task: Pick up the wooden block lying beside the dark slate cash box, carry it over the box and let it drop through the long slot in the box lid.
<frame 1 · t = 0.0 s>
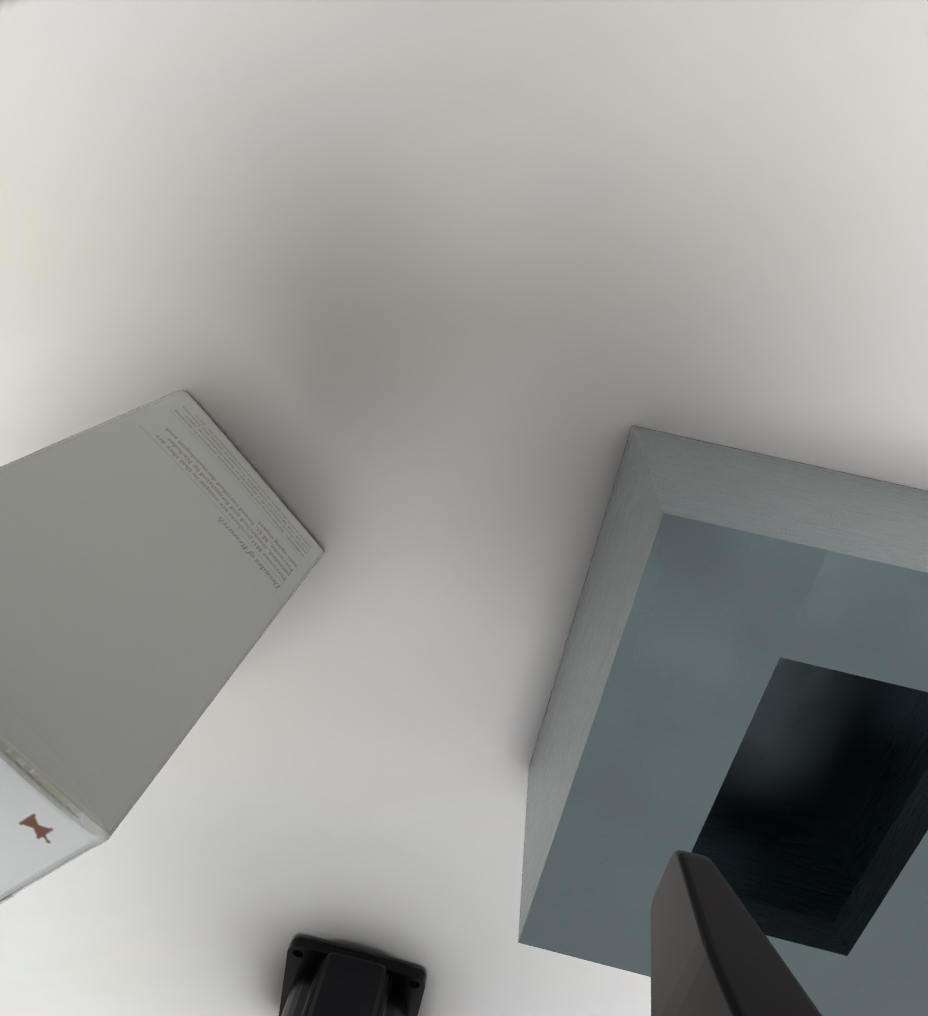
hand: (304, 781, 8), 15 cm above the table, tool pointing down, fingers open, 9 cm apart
cash box: (746, 657, 23), on the table
supplement box: (191, 523, 25), on the table
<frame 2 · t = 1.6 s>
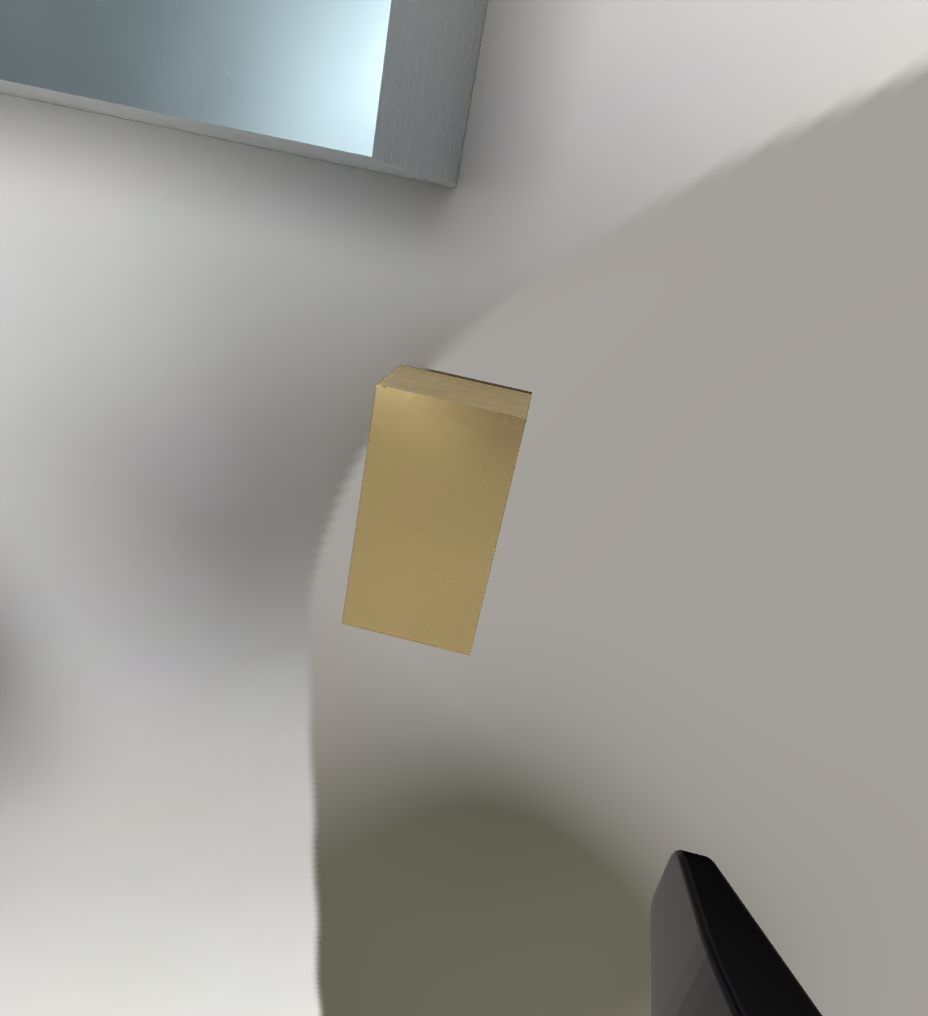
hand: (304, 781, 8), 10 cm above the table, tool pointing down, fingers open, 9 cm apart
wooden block: (444, 490, 18), on the table
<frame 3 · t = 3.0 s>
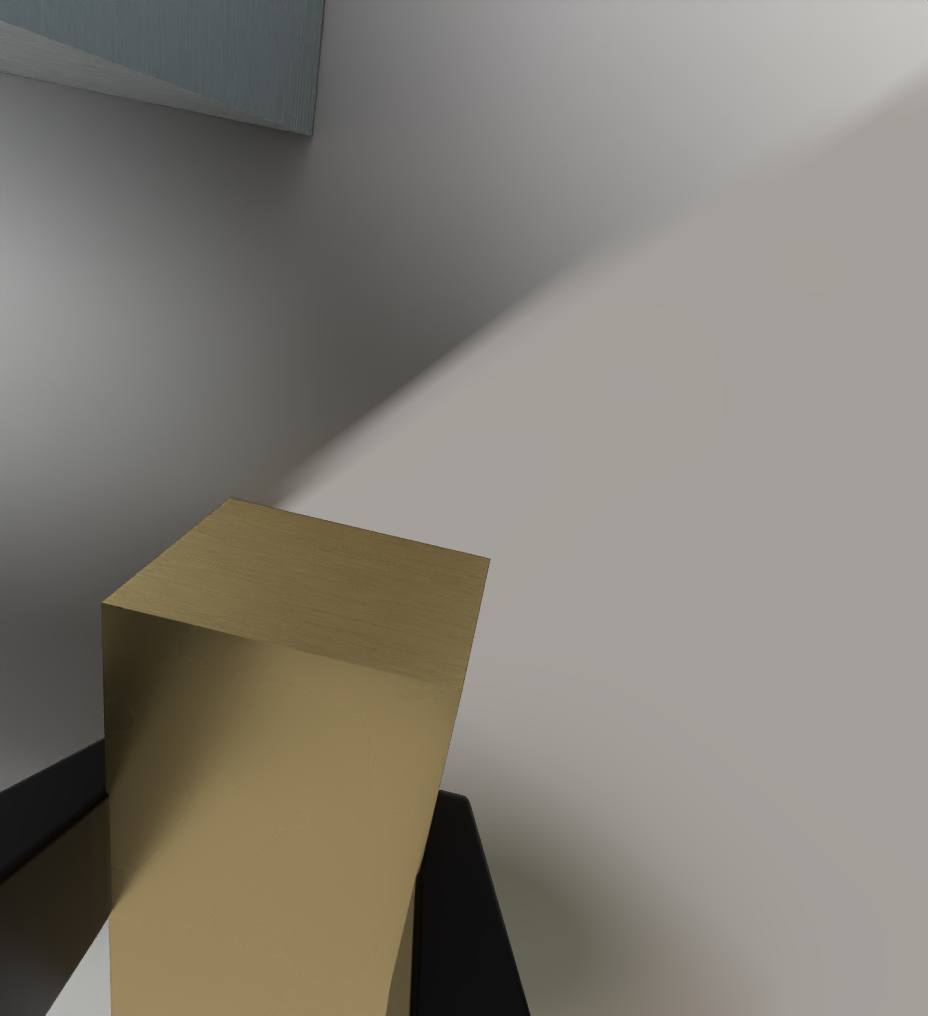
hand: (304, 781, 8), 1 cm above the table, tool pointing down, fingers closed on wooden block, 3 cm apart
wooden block: (330, 723, 9), on the table, touching gripper
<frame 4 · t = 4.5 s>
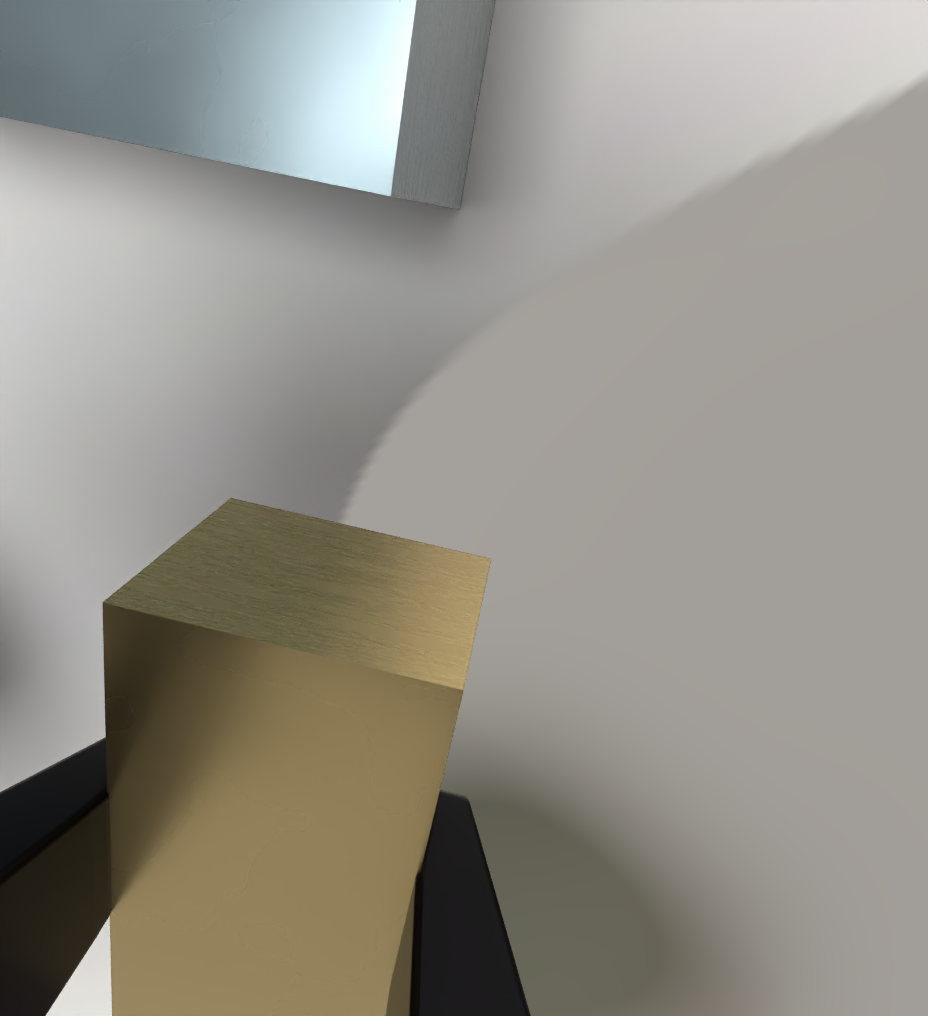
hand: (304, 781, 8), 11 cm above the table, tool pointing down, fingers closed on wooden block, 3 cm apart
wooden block: (331, 723, 9), point 10 cm above the table, touching gripper
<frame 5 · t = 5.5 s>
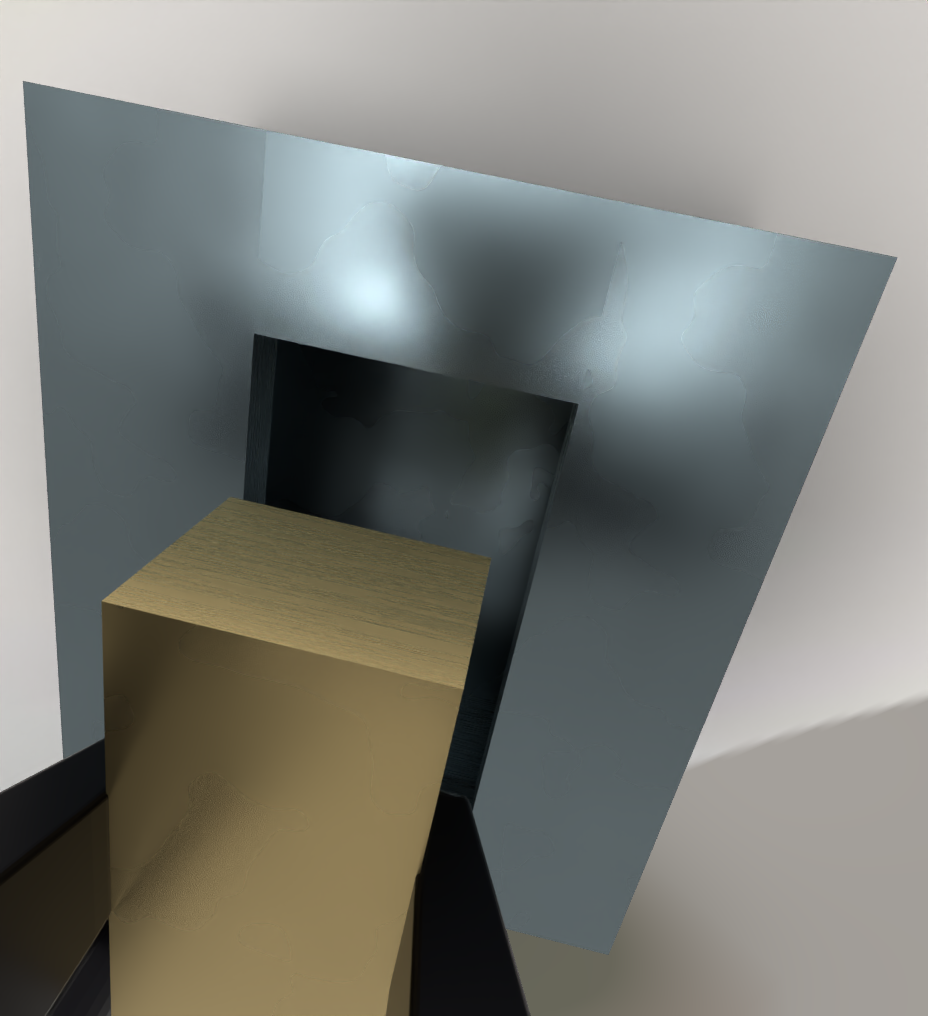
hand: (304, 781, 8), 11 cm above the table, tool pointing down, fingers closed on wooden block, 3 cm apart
cash box: (440, 475, 18), on the table
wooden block: (331, 723, 9), point 10 cm above the table, touching gripper
when the fingers open (9 cm above the table, at t = 6.0 s): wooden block drops 8 cm, resting on cash box.
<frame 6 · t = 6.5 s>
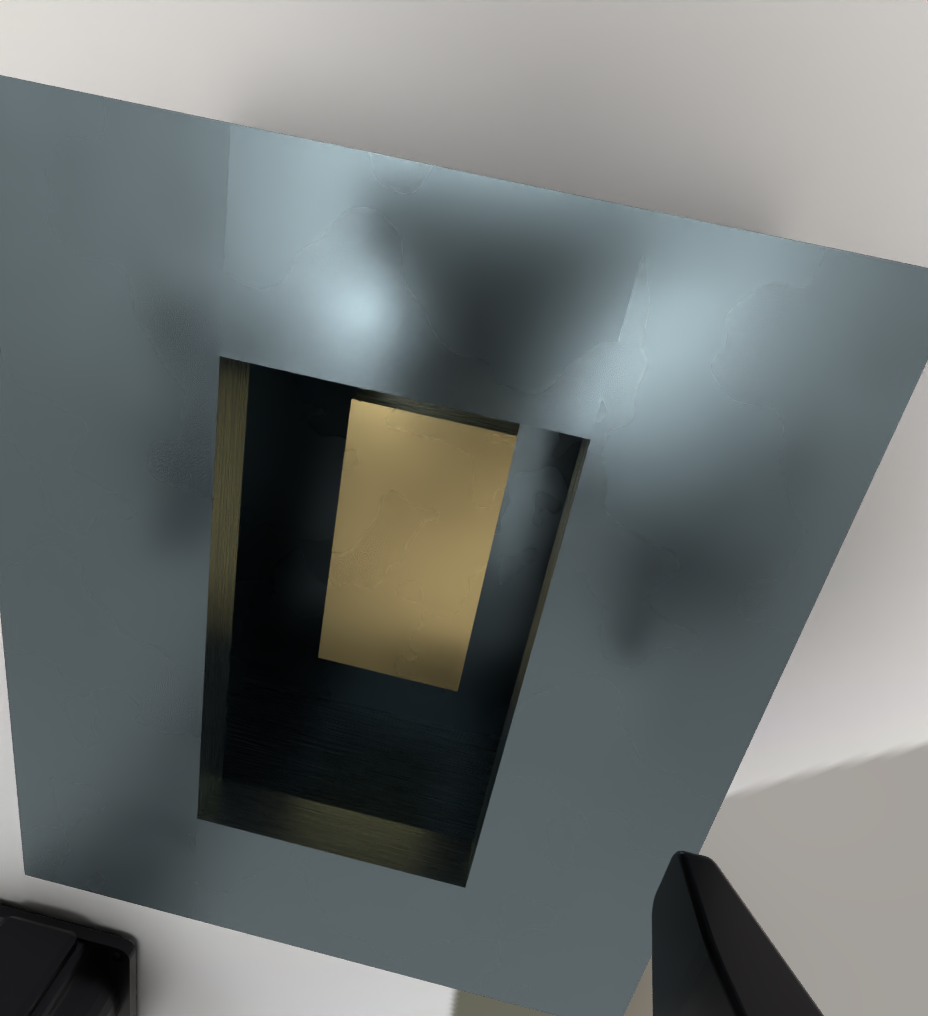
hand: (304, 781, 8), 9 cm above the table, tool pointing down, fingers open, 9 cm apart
cash box: (436, 497, 17), on the table
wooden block: (430, 510, 16), point 1 cm above the table, touching cash box
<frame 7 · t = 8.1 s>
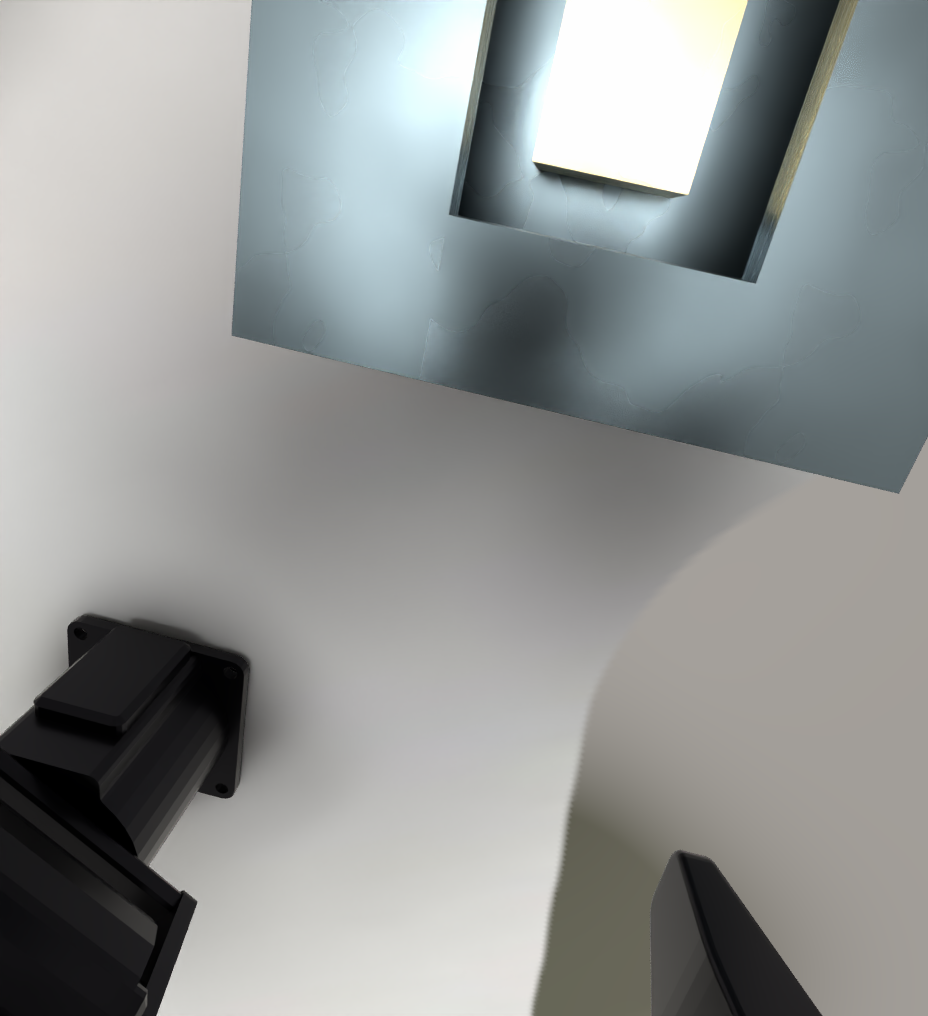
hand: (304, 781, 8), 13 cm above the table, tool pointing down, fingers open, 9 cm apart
cash box: (640, 41, 16), on the table
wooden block: (643, 33, 15), point 1 cm above the table, touching cash box
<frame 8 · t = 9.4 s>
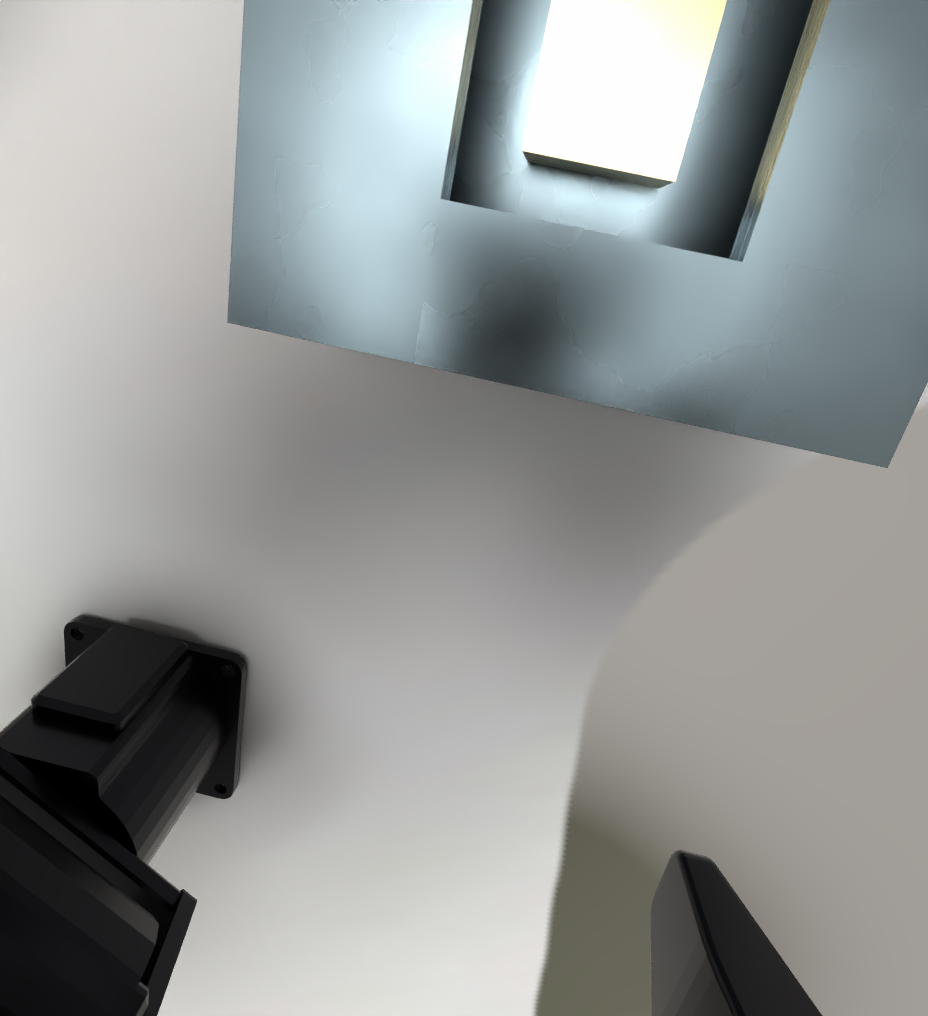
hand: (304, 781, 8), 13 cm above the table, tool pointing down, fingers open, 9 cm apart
cash box: (625, 35, 16), on the table
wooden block: (628, 27, 15), point 1 cm above the table, touching cash box
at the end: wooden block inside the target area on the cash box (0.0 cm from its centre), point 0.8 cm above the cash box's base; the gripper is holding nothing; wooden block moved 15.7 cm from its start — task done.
